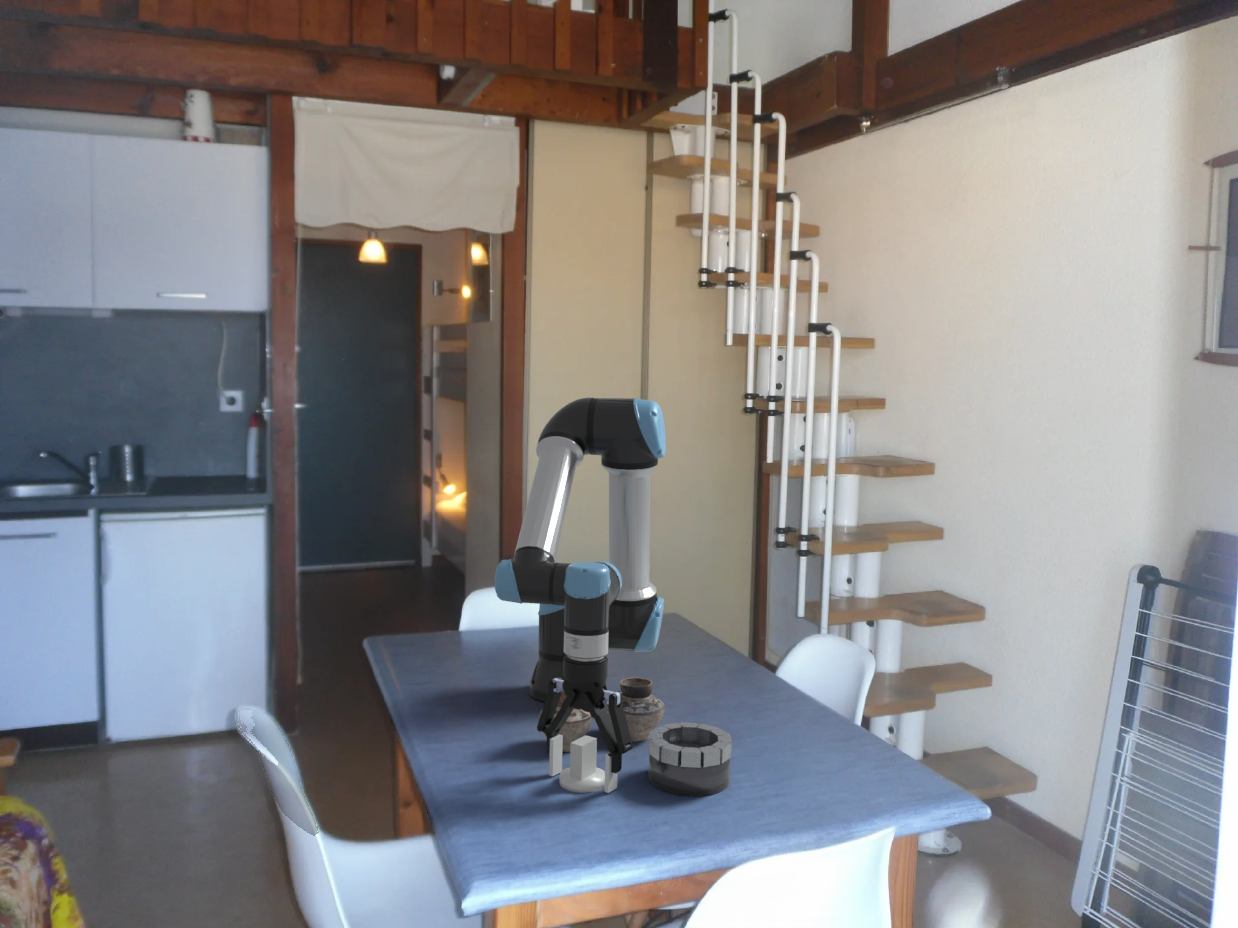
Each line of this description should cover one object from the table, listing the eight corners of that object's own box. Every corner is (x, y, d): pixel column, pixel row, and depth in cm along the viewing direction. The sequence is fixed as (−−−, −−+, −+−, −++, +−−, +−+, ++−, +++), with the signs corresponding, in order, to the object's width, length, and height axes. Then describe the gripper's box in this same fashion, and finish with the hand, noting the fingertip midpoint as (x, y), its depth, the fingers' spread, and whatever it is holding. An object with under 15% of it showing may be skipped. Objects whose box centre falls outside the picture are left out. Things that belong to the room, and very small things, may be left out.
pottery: (530, 740, 190) (531, 678, 188) (647, 722, 201) (648, 664, 199) (553, 761, 179) (554, 697, 178) (674, 742, 190) (676, 680, 189)
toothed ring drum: (632, 782, 171) (633, 740, 170) (673, 756, 183) (675, 716, 182) (705, 803, 163) (707, 759, 163) (743, 775, 175) (745, 733, 175)
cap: (549, 785, 169) (550, 742, 169) (577, 769, 176) (578, 728, 175) (588, 797, 165) (589, 753, 164) (615, 780, 172) (616, 738, 171)
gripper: (517, 648, 172) (515, 772, 174) (632, 673, 159) (628, 806, 161) (543, 638, 178) (541, 758, 180) (656, 662, 165) (652, 790, 167)
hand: (582, 781), depth 171 cm, fingers open, 11 cm apart
